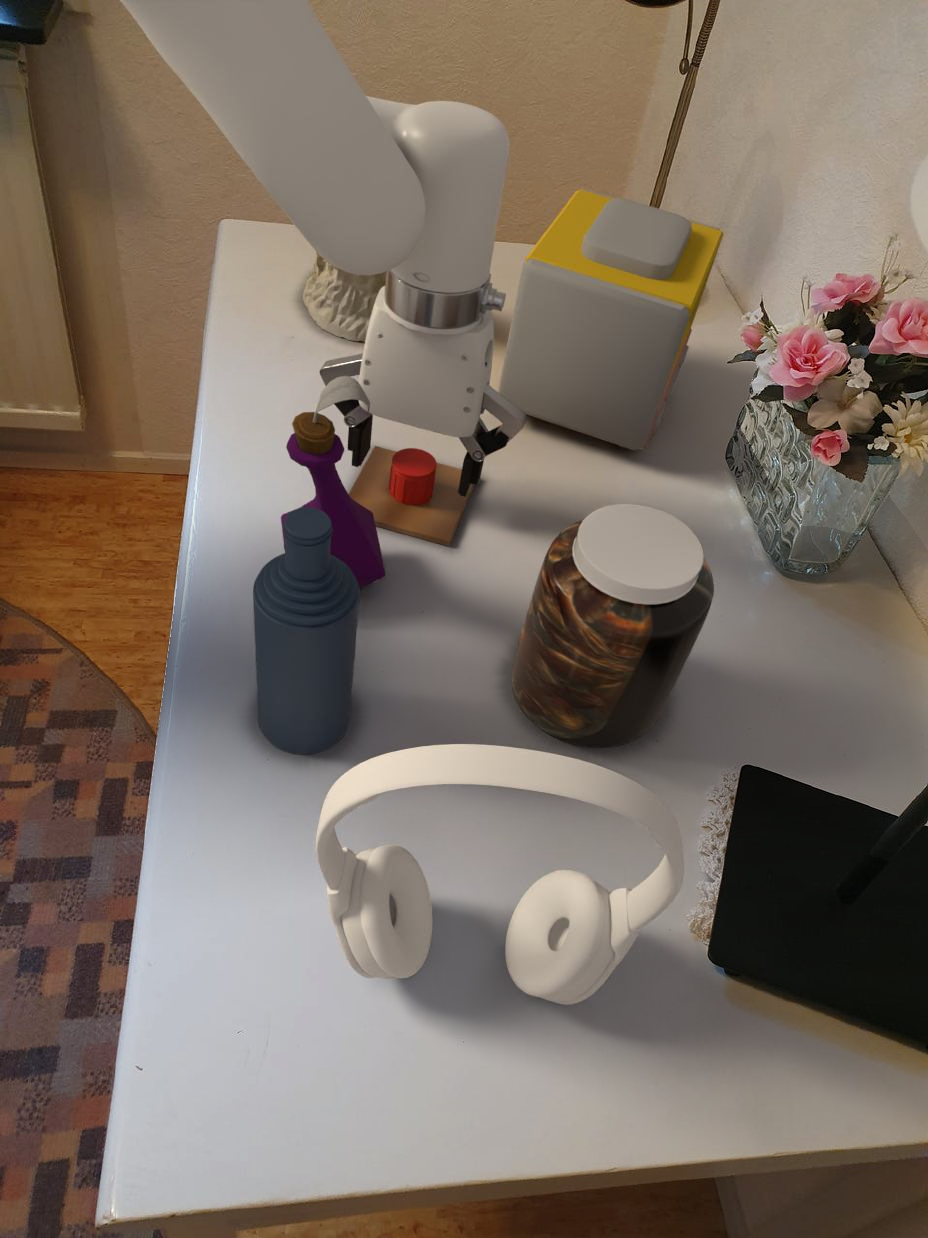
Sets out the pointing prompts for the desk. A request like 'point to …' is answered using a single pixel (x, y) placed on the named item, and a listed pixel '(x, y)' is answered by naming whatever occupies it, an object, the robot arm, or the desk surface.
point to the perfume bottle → (336, 484)
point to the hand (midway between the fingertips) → (413, 472)
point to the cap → (412, 476)
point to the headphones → (547, 913)
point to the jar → (611, 625)
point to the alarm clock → (606, 316)
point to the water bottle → (305, 638)
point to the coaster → (420, 520)
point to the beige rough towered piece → (341, 299)
